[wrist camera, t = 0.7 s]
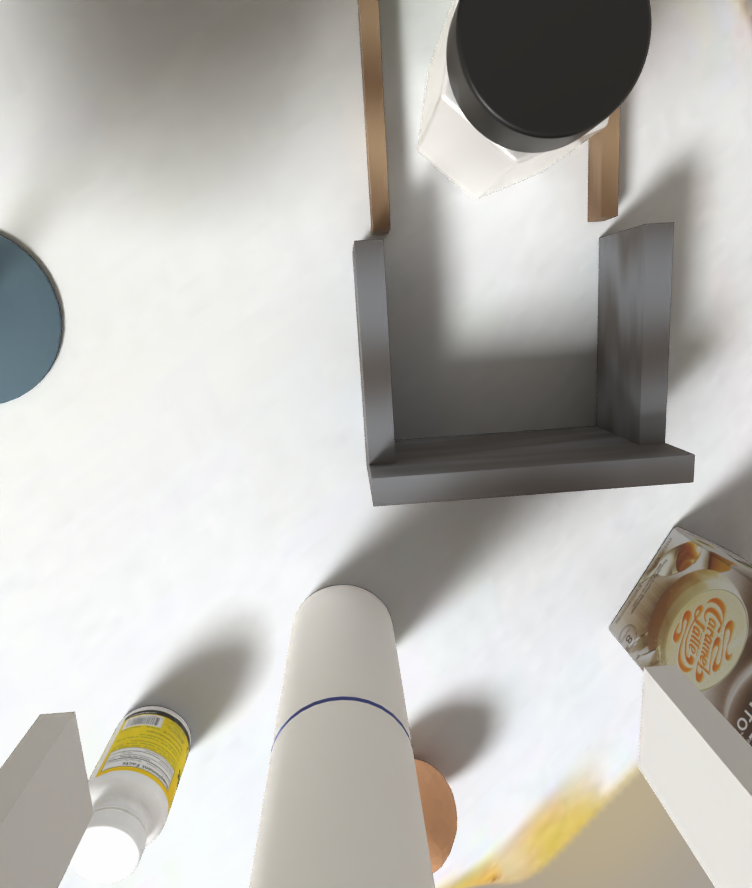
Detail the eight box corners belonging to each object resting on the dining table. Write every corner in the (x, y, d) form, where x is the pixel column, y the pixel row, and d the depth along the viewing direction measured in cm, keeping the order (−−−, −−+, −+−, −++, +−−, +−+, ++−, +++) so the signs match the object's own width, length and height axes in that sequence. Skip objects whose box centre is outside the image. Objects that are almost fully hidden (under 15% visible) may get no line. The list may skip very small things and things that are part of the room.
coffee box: (671, 521, 42) (866, 644, 26) (745, 558, 43) (975, 698, 27) (604, 630, 44) (750, 807, 28) (676, 664, 44) (858, 853, 29)
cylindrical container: (393, 583, 42) (464, 958, 17) (392, 675, 43) (456, 1139, 19) (290, 585, 42) (215, 972, 17) (292, 678, 43) (227, 1156, 19)
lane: (330, -77, 33) (326, -216, 25) (630, -88, 34) (730, -227, 25) (366, 464, 40) (373, 506, 31) (617, 446, 41) (693, 482, 32)
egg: (441, 808, 46) (461, 908, 38) (363, 804, 46) (367, 904, 38) (452, 740, 45) (474, 828, 37) (371, 735, 44) (377, 824, 37)
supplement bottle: (156, 782, 44) (105, 911, 35) (100, 736, 43) (31, 856, 34) (209, 736, 44) (171, 854, 34) (153, 688, 43) (98, 796, 33)
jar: (586, 114, 36) (702, 18, 25) (499, 226, 37) (571, 186, 26) (472, 8, 35) (539, -148, 23) (385, 128, 36) (407, 37, 24)
